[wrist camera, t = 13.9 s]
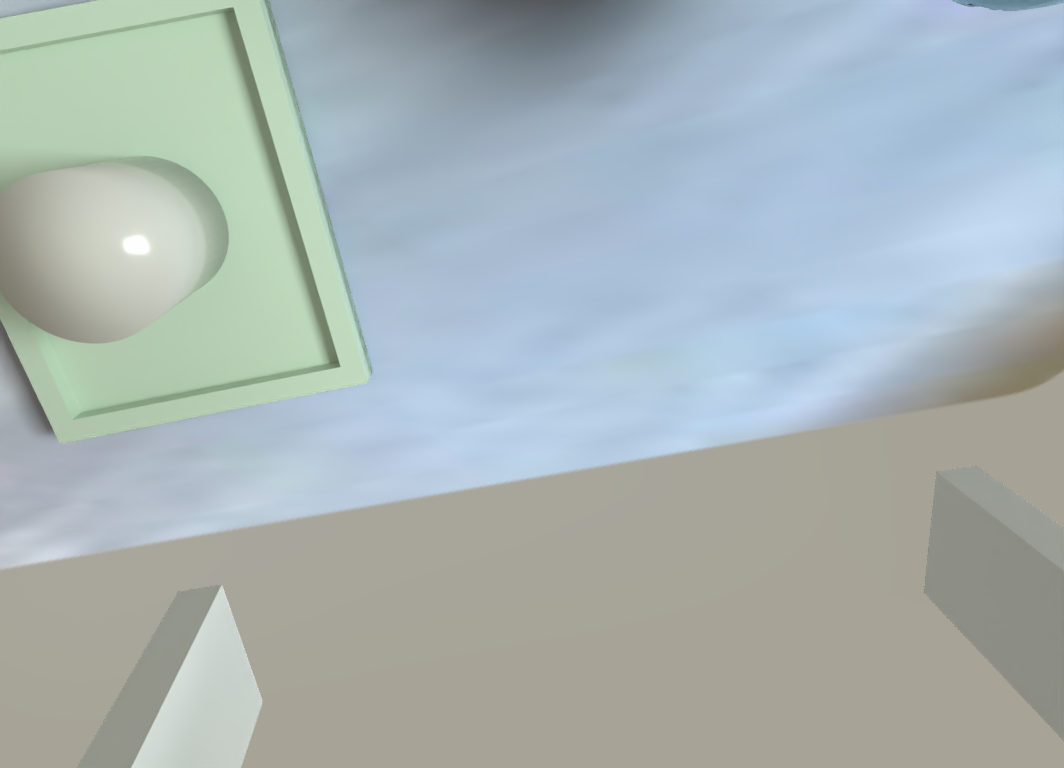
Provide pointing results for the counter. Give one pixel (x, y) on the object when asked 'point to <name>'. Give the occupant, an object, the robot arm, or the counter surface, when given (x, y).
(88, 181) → the cream rounded capsule
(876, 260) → the counter surface
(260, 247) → the tray
